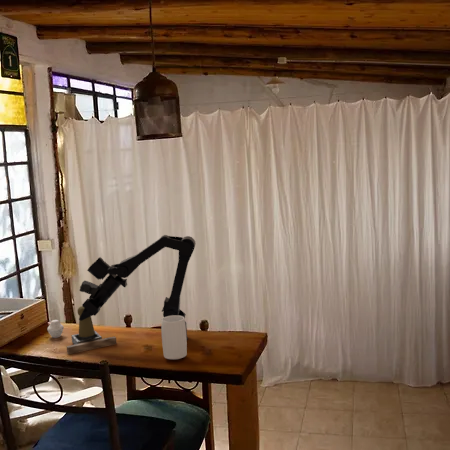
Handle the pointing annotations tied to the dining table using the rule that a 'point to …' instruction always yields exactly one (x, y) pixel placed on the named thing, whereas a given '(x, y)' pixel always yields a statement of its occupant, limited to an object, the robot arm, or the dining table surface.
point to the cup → (174, 337)
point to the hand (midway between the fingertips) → (81, 317)
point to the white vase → (55, 329)
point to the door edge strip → (91, 345)
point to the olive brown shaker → (85, 325)
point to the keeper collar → (85, 338)
